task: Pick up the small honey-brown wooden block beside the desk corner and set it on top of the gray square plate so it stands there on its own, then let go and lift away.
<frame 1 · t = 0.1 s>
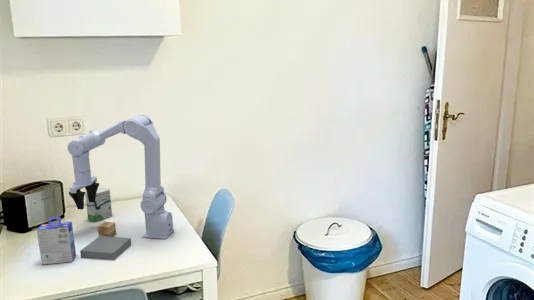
hand: (86, 205, 176), 10 cm above the table, tool pointing down, fingers open, 7 cm apart
gray square plate: (107, 252, 160), on the table
white cardboard box: (100, 218, 190), on the table
ink cartridge box: (59, 260, 154), on the table
wooden block: (107, 237, 171), on the table
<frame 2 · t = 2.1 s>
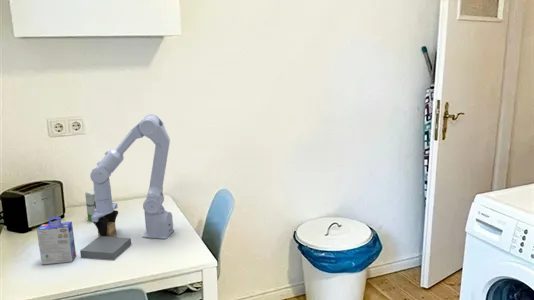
hand: (107, 233, 171), 1 cm above the table, tool pointing down, fingers closed on wooden block, 4 cm apart
wooden block: (107, 236, 171), on the table, touching gripper
everything else where it was.
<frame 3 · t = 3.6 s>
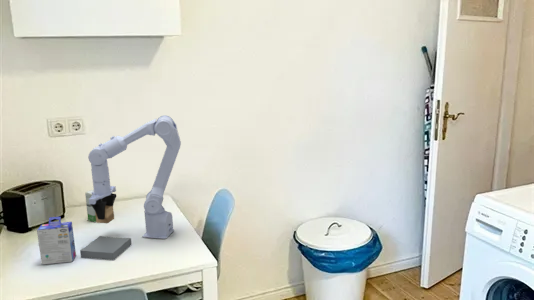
hand: (105, 216, 168), 8 cm above the table, tool pointing down, fingers closed on wooden block, 4 cm apart
wooden block: (105, 220, 169), point 7 cm above the table, touching gripper
everything else where it was.
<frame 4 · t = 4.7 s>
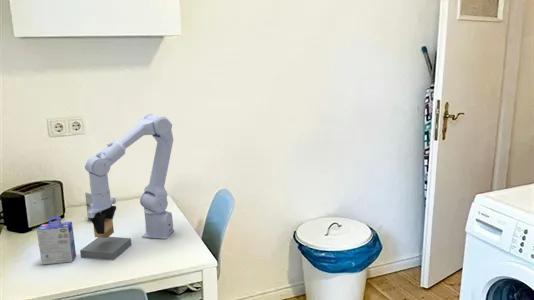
hand: (104, 230, 158), 8 cm above the table, tool pointing down, fingers closed on wooden block, 4 cm apart
wooden block: (104, 234, 158), point 6 cm above the table, touching gripper
everything else where it was.
when the fingers open (5 cm above the table, at t = 5.6 s): wooden block drops 1 cm, resting on gray square plate.
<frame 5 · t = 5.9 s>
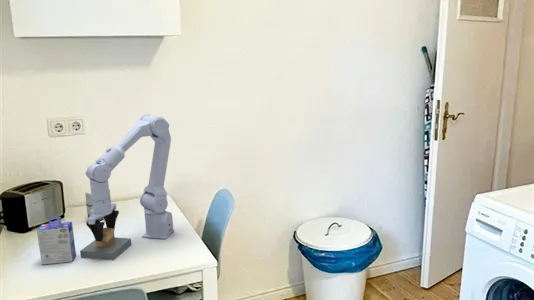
hand: (105, 236, 159), 5 cm above the table, tool pointing down, fingers open, 7 cm apart
gray square plate: (107, 252, 160), on the table, touching wooden block
wooden block: (105, 244, 159), point 2 cm above the table, touching gray square plate
everything else where it was.
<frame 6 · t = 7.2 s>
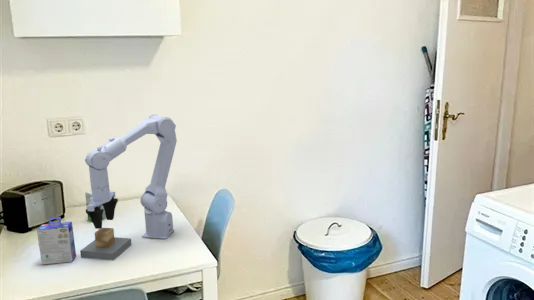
hand: (104, 223, 159), 9 cm above the table, tool pointing down, fingers open, 7 cm apart
gray square plate: (107, 252, 160), on the table
wooden block: (105, 244, 159), point 2 cm above the table
everything else where it was.
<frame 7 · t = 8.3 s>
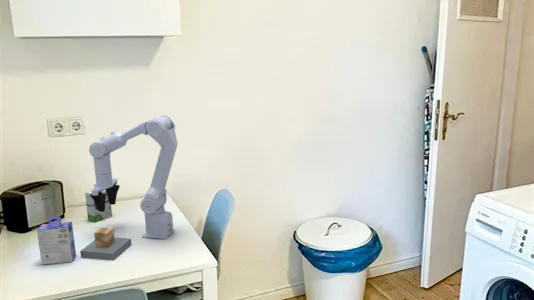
hand: (107, 207, 174), 9 cm above the table, tool pointing down, fingers open, 7 cm apart
gray square plate: (107, 252, 160), on the table, touching wooden block
wooden block: (105, 244, 160), point 2 cm above the table, touching gray square plate
everything else where it was.
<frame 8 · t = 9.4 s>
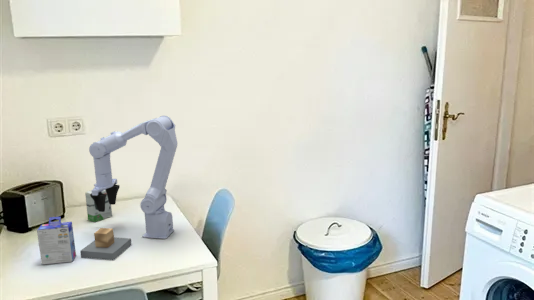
hand: (107, 207, 174), 9 cm above the table, tool pointing down, fingers open, 7 cm apart
gray square plate: (107, 252, 160), on the table
wooden block: (105, 244, 159), point 2 cm above the table
everything else where it was.
at the end: wooden block inside the target area on the gray square plate (0.2 cm from its centre), point 3.0 cm above the gray square plate's base; wooden block tilted 1°; the gripper is holding nothing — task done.
